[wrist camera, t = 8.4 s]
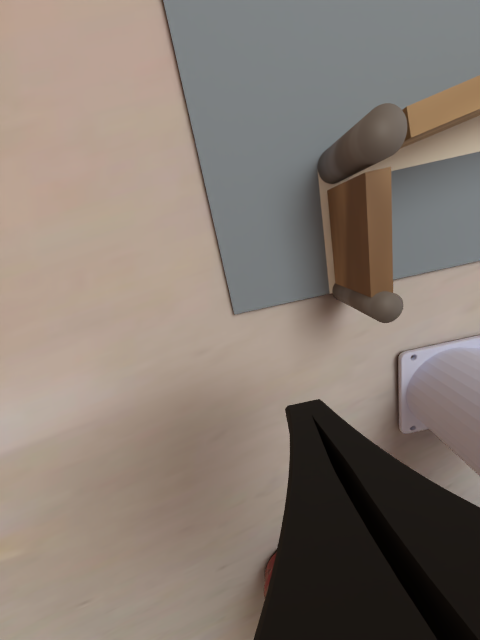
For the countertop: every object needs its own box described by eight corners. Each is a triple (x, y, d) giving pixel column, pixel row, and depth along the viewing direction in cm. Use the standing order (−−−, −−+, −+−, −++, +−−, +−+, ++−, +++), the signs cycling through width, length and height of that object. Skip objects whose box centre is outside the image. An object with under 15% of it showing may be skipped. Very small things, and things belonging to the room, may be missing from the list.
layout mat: (595, -178, 12) (605, -189, 12) (530, 248, 18) (536, 248, 18) (146, -74, 12) (144, -82, 12) (234, 313, 18) (234, 314, 18)
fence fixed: (348, 143, 15) (407, 98, 10) (357, 296, 18) (406, 318, 13) (315, 151, 15) (359, 109, 10) (330, 302, 18) (369, 326, 13)
